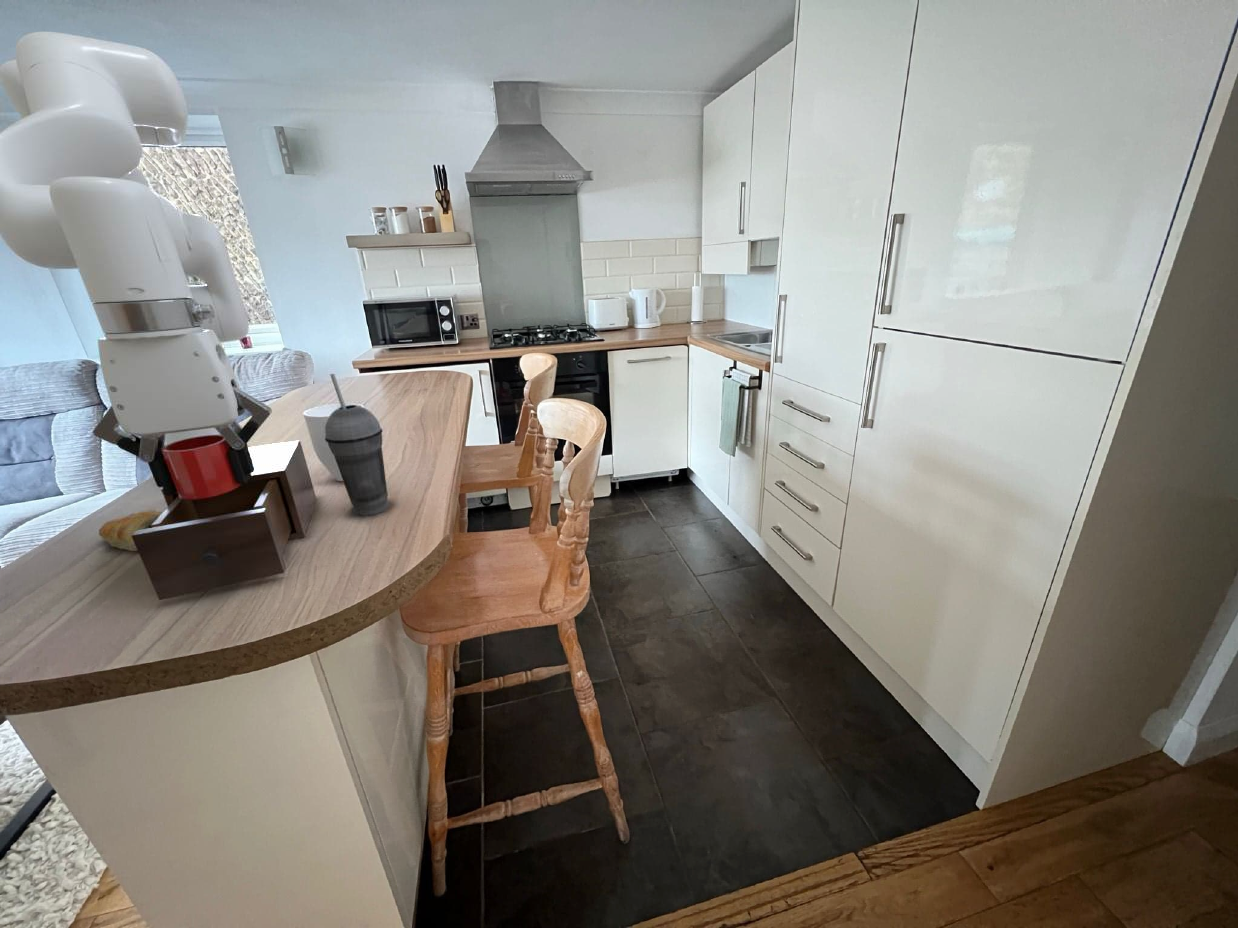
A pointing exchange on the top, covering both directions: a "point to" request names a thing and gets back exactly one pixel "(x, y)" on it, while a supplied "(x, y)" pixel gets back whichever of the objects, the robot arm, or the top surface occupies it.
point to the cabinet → (283, 480)
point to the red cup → (200, 466)
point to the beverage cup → (358, 455)
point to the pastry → (127, 528)
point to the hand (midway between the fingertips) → (210, 483)
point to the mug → (323, 435)
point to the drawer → (217, 540)
